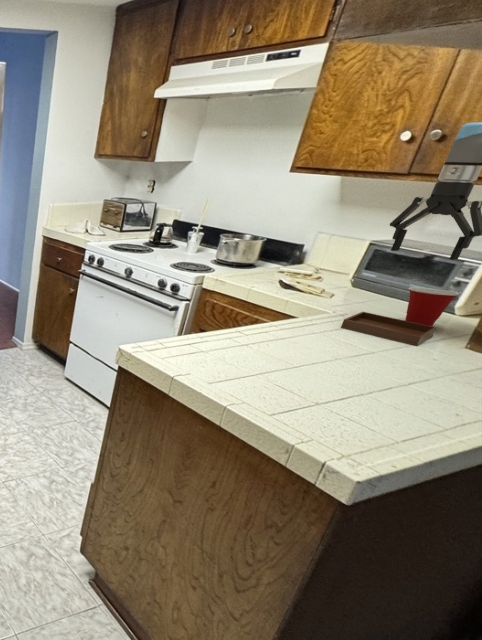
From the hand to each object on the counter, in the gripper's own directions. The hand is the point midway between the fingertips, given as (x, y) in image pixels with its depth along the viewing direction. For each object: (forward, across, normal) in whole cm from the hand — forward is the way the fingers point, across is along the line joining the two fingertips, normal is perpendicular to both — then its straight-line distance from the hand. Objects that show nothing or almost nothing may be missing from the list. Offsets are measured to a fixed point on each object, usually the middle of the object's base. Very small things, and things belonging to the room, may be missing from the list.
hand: (422, 254), depth 143 cm
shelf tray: (+22, +4, -11) cm, 26 cm away
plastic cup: (+23, +3, +7) cm, 24 cm away
